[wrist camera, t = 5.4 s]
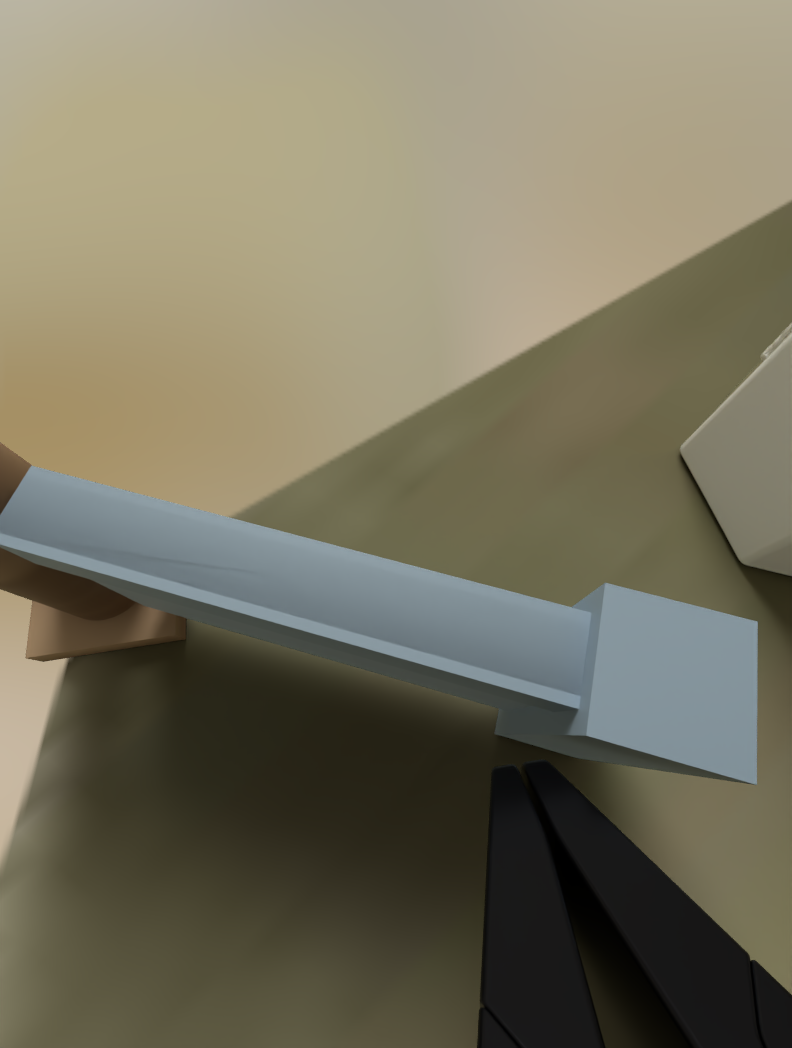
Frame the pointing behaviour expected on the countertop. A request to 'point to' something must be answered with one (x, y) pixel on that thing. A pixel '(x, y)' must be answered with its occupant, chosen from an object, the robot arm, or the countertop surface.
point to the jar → (751, 461)
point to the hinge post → (74, 600)
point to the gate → (424, 626)
